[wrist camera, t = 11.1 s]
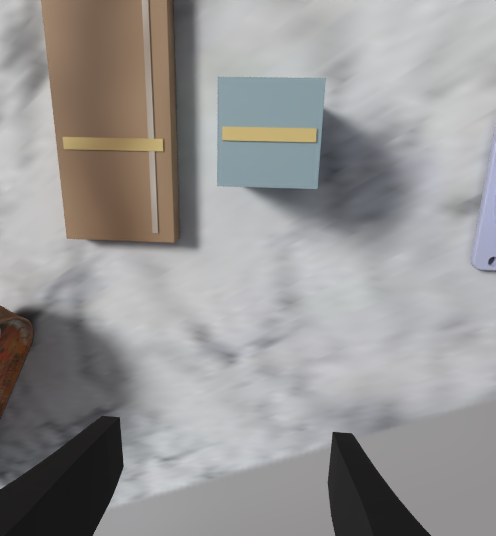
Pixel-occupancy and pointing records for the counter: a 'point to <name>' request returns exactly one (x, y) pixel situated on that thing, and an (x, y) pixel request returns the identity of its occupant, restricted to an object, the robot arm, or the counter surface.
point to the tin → (12, 351)
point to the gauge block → (269, 131)
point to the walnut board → (115, 117)
